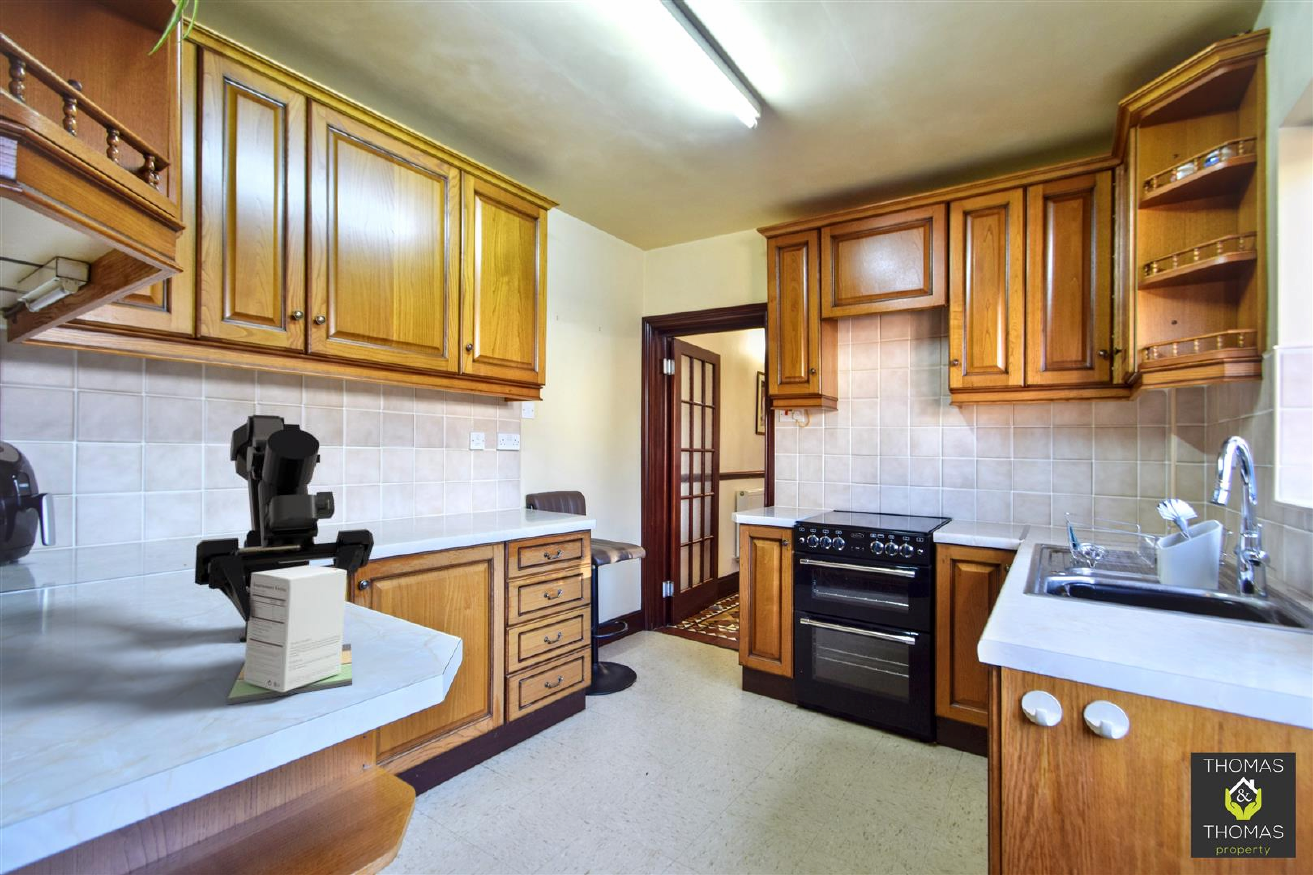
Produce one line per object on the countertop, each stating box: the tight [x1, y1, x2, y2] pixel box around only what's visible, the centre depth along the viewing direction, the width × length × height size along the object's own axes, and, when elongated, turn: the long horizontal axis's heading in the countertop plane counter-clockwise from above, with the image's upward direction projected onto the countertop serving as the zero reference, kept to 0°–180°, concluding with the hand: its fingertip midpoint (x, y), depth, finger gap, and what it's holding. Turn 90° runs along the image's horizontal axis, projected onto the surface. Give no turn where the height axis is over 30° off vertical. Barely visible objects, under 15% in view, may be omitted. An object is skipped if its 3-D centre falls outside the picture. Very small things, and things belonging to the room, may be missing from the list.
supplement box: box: [244, 564, 347, 692], centre depth 68 cm, size 7×7×13 cm
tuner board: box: [227, 643, 353, 706], centre depth 72 cm, size 15×12×1 cm
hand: (294, 612), depth 68 cm, fingers open, 9 cm apart
